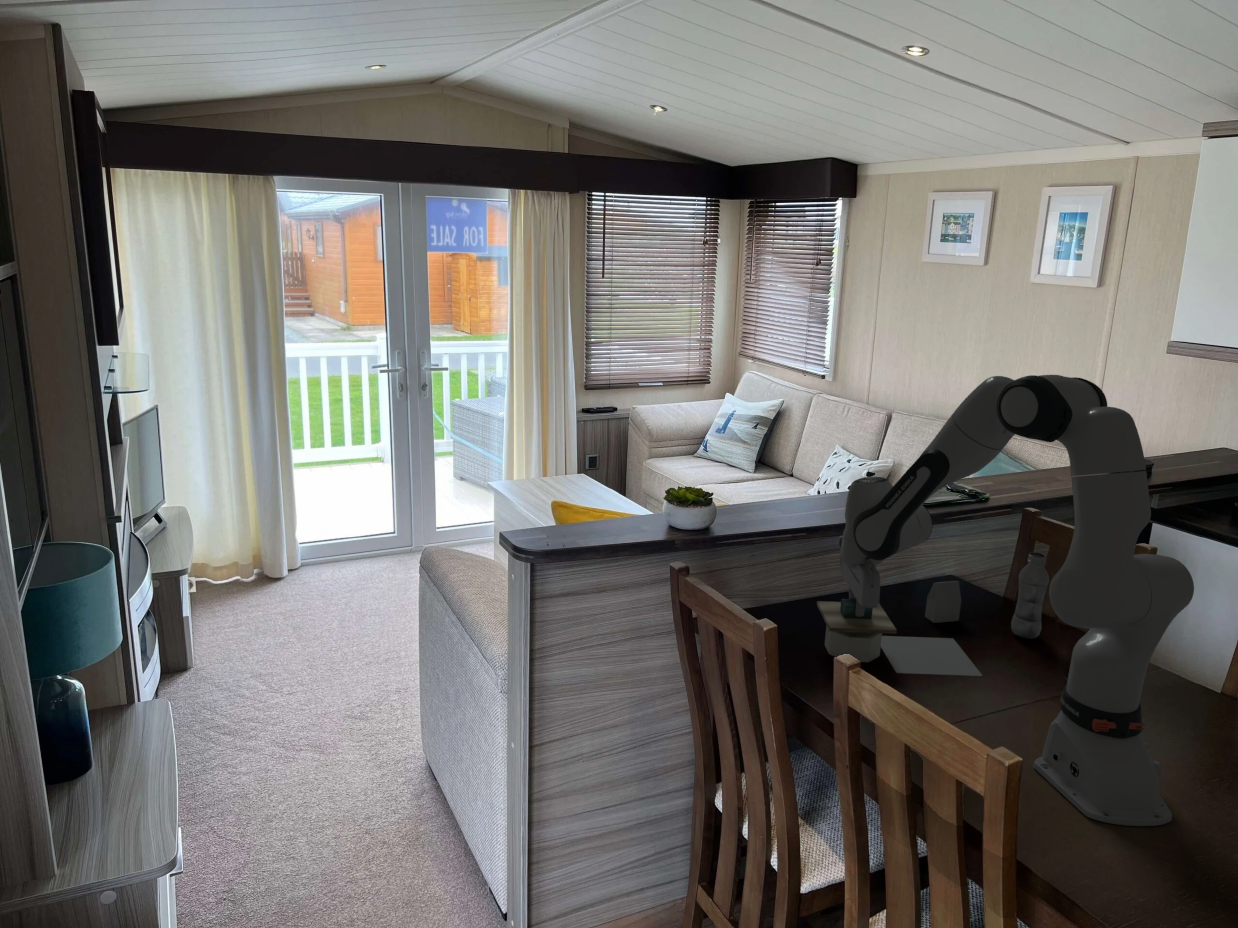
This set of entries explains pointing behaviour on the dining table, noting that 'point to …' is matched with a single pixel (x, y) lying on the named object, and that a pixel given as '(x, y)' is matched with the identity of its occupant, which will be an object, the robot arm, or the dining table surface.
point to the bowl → (853, 644)
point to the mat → (927, 656)
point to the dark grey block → (943, 602)
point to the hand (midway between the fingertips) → (856, 610)
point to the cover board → (855, 618)
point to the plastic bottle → (1030, 597)
